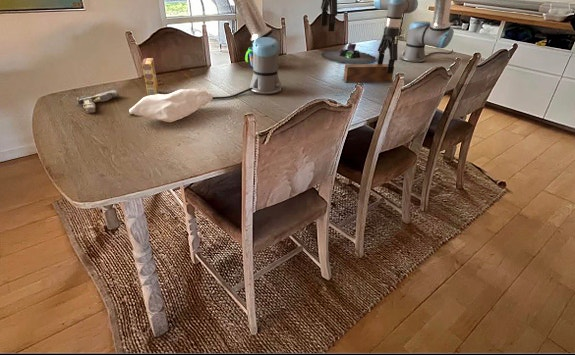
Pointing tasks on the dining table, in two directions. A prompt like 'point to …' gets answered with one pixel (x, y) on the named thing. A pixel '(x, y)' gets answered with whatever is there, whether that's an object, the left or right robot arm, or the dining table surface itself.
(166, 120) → the crumpled cloth
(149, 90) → the candy box
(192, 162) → the dining table surface
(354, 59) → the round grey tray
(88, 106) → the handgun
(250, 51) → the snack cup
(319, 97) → the dining table surface
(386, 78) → the bar
